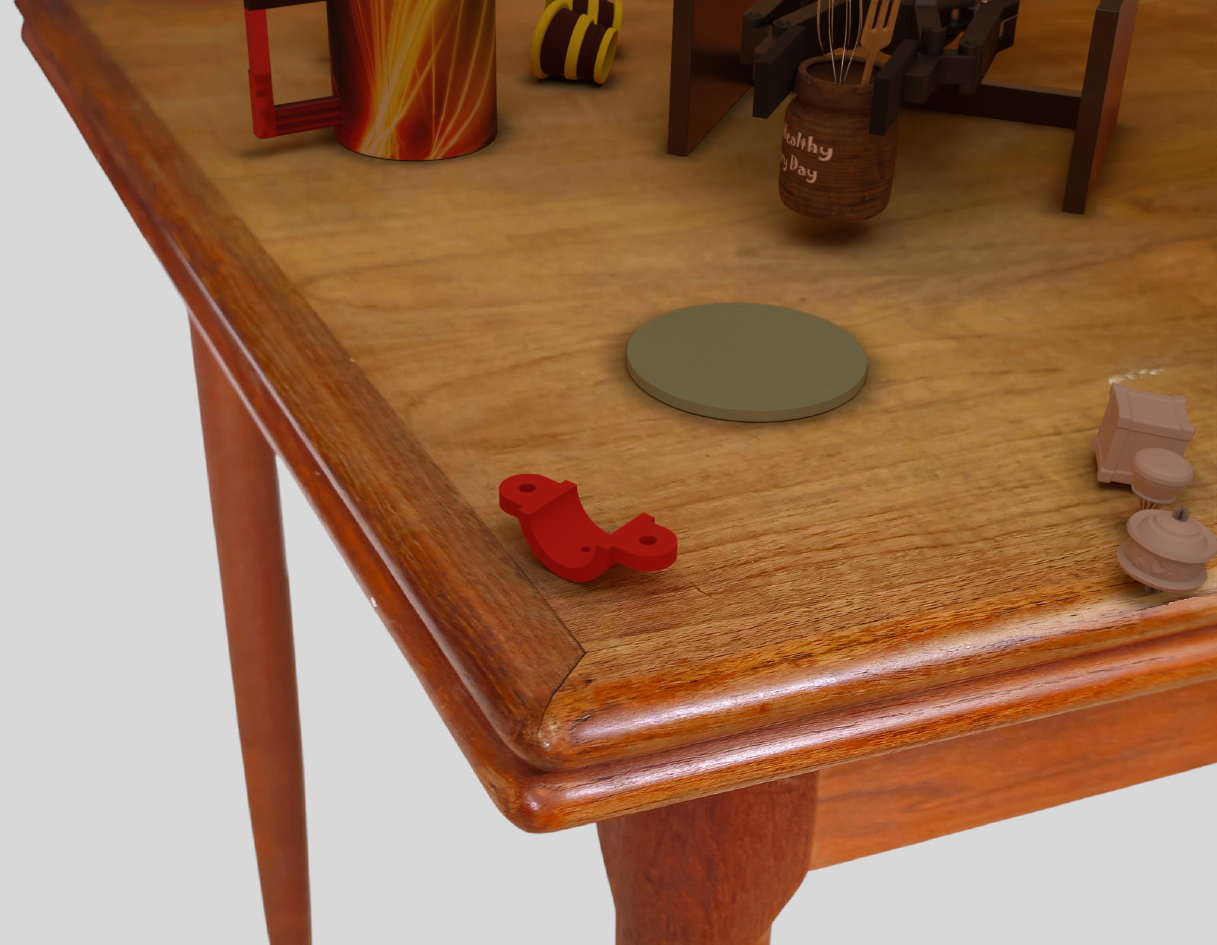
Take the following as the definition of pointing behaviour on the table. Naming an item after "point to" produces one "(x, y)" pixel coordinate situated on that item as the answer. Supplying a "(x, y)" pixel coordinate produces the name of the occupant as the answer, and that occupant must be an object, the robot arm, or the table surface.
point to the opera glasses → (576, 39)
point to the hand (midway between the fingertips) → (820, 98)
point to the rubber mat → (746, 362)
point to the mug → (390, 77)
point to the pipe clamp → (581, 531)
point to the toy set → (1154, 488)
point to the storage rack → (718, 79)
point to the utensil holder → (839, 131)
